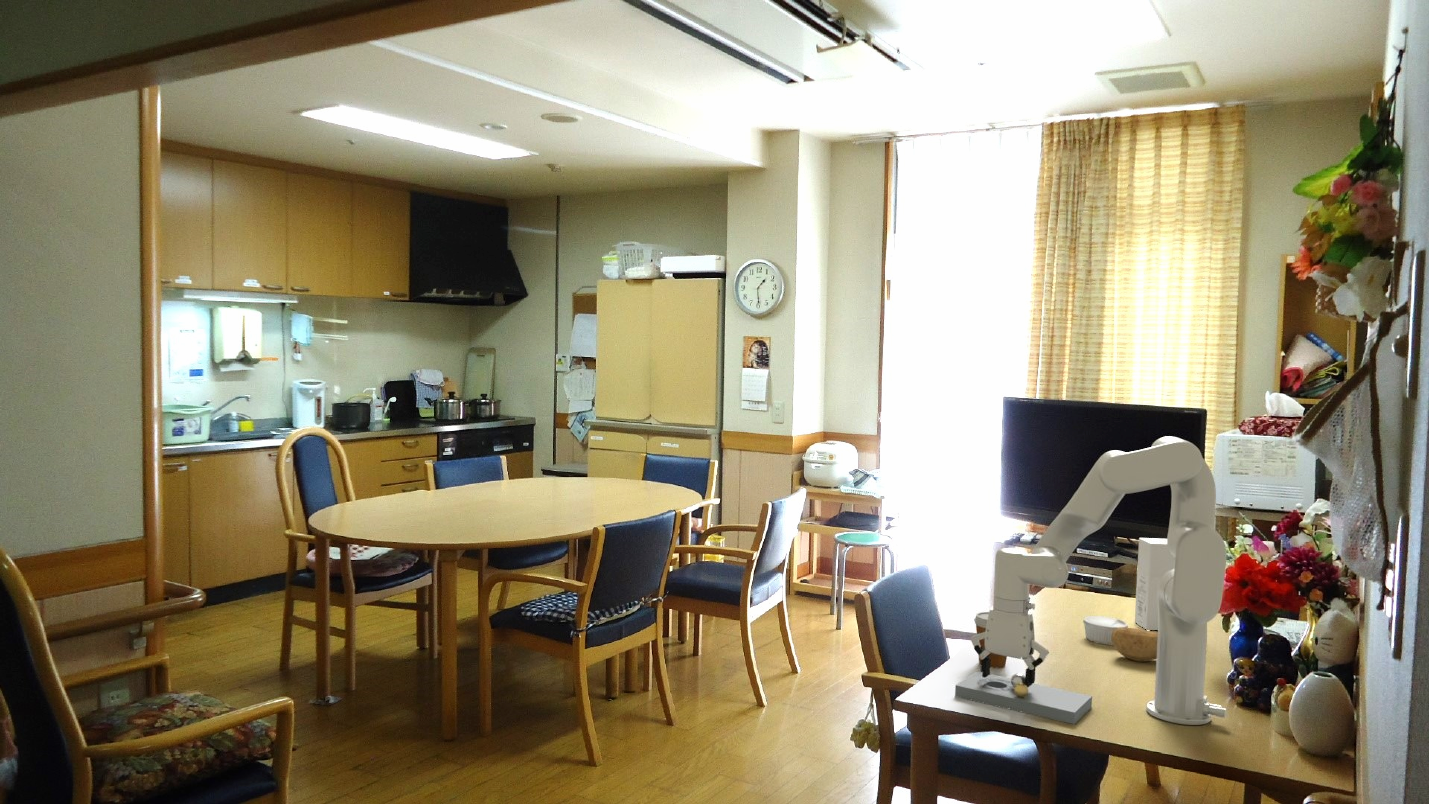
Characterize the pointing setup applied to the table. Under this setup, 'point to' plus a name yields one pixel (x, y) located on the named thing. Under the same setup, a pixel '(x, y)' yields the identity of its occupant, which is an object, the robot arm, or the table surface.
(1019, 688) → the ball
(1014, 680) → the ball
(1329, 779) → the table surface
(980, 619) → the disposable coffee cup
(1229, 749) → the table surface
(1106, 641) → the ramekin
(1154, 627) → the tall white carton
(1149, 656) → the potato
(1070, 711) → the hole board
